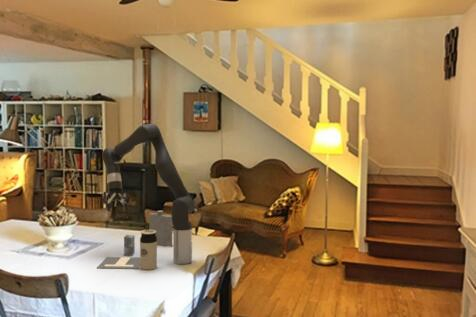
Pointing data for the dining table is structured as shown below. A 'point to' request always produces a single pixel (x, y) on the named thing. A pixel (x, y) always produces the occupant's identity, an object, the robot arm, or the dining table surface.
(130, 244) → the slate block
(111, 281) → the dining table surface
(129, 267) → the letter board
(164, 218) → the hip flask
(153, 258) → the travel mug
